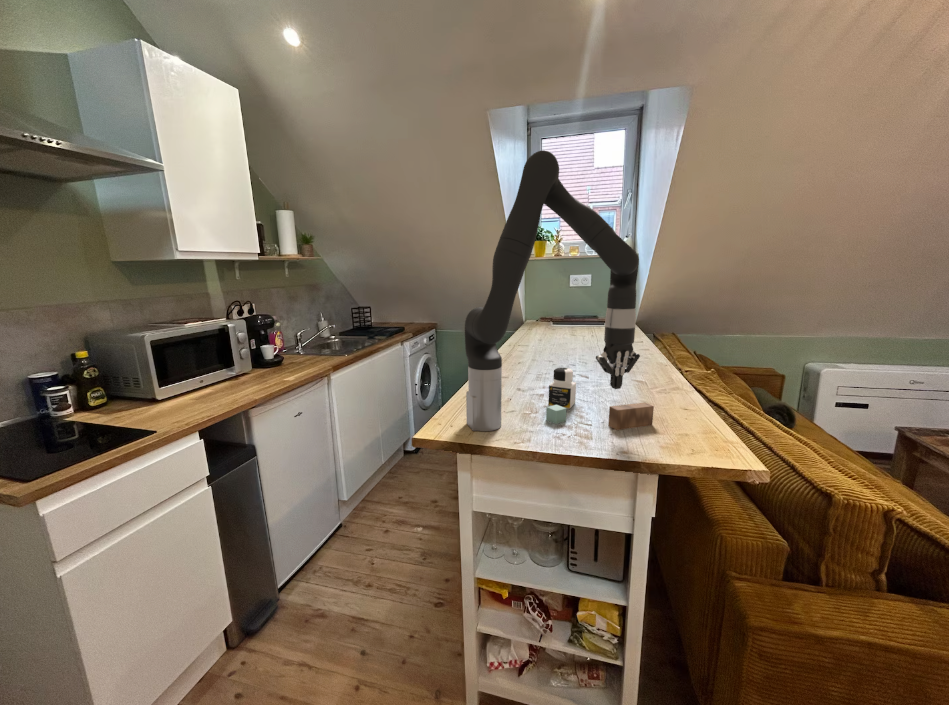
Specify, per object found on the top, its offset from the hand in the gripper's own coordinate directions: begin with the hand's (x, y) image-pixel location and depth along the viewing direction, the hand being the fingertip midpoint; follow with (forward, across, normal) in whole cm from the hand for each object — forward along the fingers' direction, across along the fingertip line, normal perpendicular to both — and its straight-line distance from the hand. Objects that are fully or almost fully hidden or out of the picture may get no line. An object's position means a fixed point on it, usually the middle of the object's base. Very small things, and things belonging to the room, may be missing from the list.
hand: (616, 388), depth 110 cm
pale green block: (+11, -12, +10) cm, 20 cm away
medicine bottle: (+12, -3, +22) cm, 25 cm away
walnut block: (+9, 0, 0) cm, 9 cm away
